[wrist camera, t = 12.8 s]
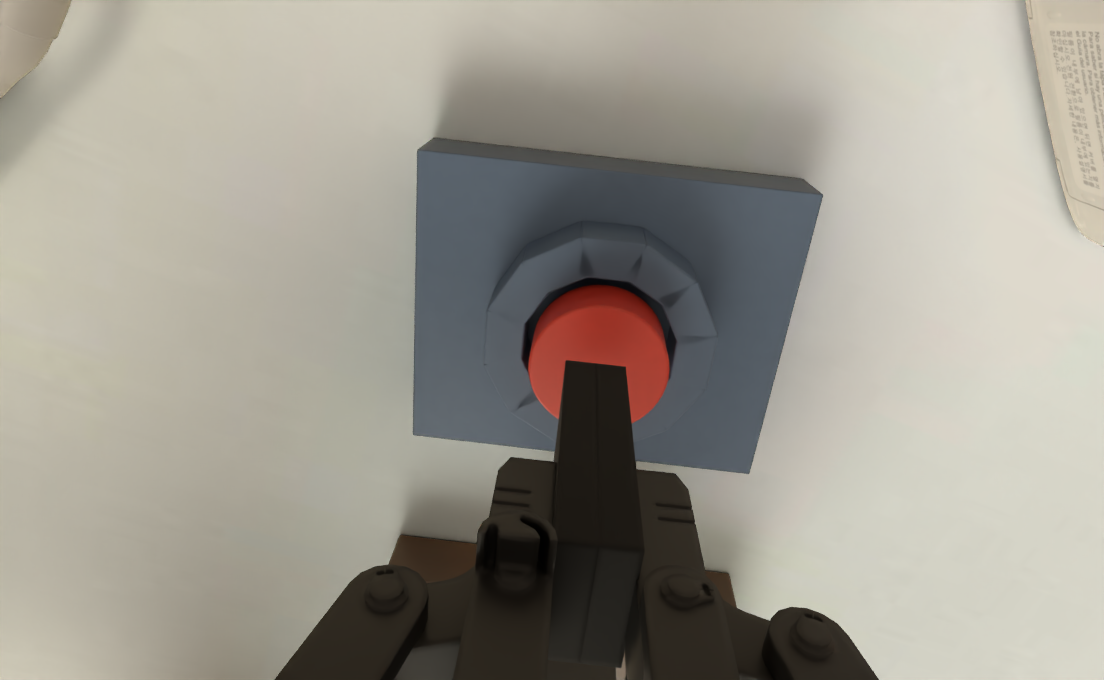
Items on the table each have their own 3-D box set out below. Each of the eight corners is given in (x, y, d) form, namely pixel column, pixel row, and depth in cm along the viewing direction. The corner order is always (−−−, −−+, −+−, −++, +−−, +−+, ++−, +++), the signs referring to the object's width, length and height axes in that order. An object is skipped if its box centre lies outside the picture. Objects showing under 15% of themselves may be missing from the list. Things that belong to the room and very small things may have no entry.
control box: (426, 404, 27) (399, 465, 23) (433, 137, 23) (401, 160, 19) (738, 440, 27) (760, 507, 23) (803, 178, 22) (843, 209, 19)
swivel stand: (398, 724, 35) (383, 777, 32) (399, 513, 29) (381, 558, 27) (679, 758, 34) (685, 814, 32) (734, 552, 29) (747, 601, 26)
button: (527, 394, 22) (522, 423, 21) (539, 276, 20) (534, 297, 19) (653, 409, 22) (657, 439, 21) (674, 291, 20) (681, 314, 19)
